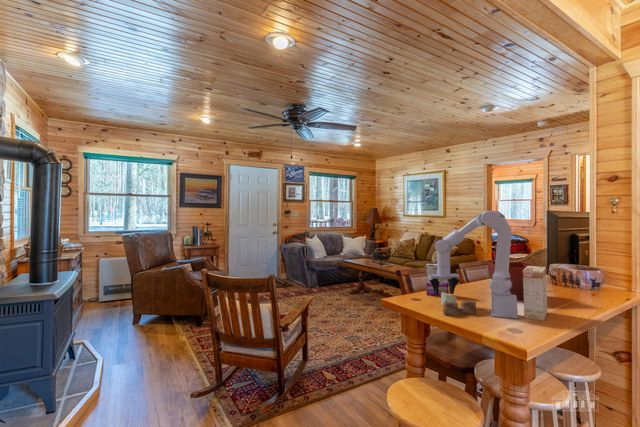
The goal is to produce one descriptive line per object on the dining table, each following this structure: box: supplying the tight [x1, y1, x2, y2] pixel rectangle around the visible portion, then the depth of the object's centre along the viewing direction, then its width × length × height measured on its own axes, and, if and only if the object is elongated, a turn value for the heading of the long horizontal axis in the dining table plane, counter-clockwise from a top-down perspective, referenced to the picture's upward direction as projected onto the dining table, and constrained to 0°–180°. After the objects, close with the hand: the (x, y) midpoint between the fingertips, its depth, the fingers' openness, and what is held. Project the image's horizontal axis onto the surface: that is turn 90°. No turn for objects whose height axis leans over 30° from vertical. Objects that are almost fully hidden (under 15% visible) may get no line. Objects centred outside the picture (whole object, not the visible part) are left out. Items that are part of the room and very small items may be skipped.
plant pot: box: [487, 261, 542, 301], centre depth 167 cm, size 19×19×17 cm
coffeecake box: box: [523, 265, 548, 322], centre depth 137 cm, size 15×7×20 cm, turn 141°
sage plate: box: [440, 293, 458, 306], centre depth 151 cm, size 10×2×6 cm, turn 10°
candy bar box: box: [425, 263, 450, 297], centre depth 175 cm, size 11×5×16 cm, turn 73°
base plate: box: [442, 300, 477, 317], centre depth 140 cm, size 14×2×5 cm, turn 100°
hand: (444, 294), depth 154 cm, fingers open, 7 cm apart
